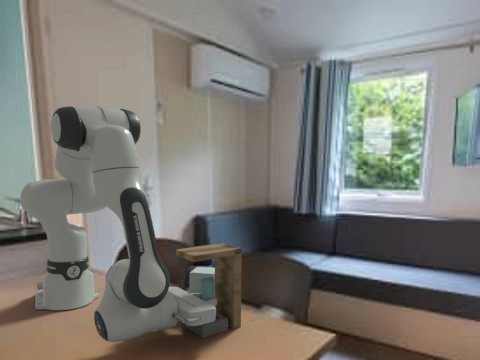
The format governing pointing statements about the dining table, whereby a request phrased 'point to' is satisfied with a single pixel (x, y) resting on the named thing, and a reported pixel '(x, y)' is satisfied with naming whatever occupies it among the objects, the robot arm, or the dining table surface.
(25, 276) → the dining table surface
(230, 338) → the dining table surface
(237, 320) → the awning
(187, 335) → the dining table surface
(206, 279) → the peg
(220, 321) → the socket
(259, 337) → the dining table surface
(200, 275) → the supplement box
